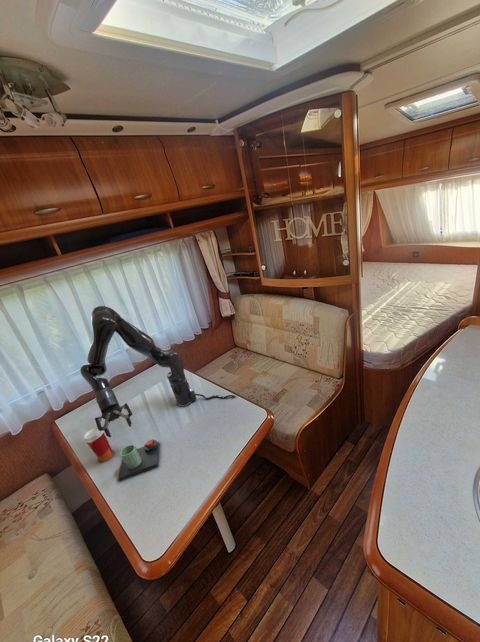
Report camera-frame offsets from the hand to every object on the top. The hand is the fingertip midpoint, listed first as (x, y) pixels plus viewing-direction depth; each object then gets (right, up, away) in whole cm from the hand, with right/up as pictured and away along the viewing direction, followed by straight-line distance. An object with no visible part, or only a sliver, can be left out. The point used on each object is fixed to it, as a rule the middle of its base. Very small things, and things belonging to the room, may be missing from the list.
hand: (120, 431), depth 120 cm
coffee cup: (-12, -16, +10) cm, 22 cm away
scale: (+8, -14, +3) cm, 17 cm away
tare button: (+11, -9, +6) cm, 15 cm away
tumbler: (+6, -14, 0) cm, 15 cm away
